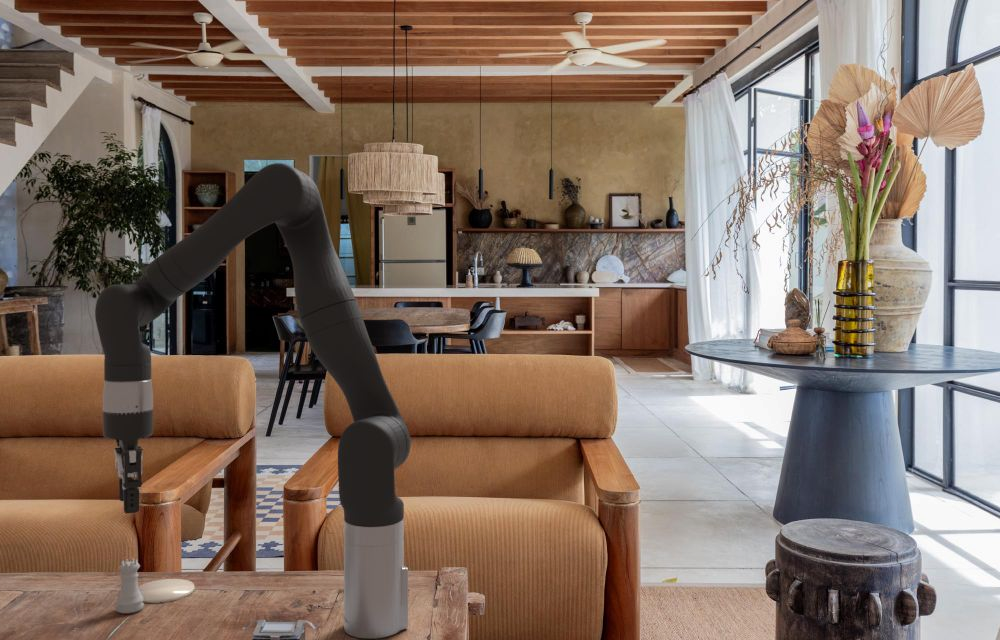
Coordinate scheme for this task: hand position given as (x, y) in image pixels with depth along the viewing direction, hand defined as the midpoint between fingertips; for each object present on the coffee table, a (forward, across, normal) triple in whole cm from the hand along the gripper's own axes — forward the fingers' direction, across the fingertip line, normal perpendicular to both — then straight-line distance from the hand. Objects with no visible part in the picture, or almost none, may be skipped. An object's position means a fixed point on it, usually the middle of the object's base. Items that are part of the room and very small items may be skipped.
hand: (128, 506), depth 140 cm
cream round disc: (+17, +6, -6) cm, 19 cm away
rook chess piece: (+17, 0, 0) cm, 17 cm away
